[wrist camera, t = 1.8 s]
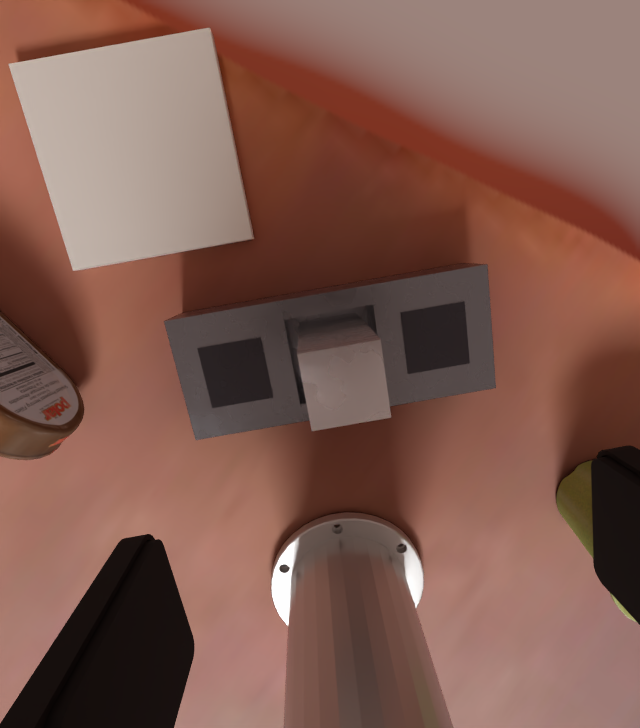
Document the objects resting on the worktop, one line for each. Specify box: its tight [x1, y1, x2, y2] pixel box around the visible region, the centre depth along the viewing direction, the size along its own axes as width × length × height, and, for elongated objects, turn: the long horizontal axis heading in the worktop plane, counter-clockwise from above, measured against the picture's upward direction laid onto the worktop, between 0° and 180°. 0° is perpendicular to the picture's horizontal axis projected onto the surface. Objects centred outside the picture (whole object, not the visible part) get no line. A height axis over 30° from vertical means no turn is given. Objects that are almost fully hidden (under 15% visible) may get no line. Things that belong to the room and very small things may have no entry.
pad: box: [9, 28, 254, 271], centre depth 27 cm, size 12×12×1 cm
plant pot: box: [556, 460, 638, 623], centre depth 30 cm, size 9×9×9 cm
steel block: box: [297, 312, 391, 431], centre depth 25 cm, size 4×4×10 cm
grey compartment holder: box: [164, 263, 496, 440], centre depth 29 cm, size 8×20×4 cm, turn 100°
